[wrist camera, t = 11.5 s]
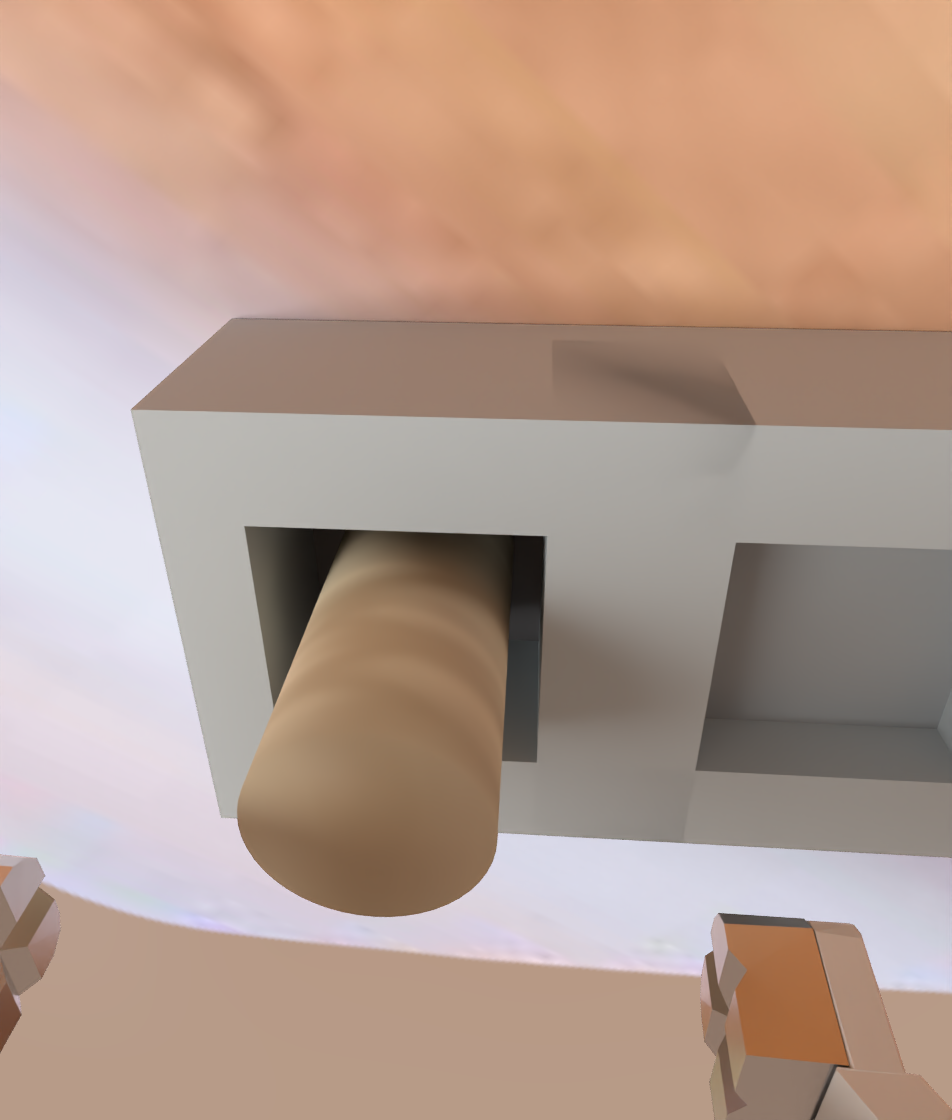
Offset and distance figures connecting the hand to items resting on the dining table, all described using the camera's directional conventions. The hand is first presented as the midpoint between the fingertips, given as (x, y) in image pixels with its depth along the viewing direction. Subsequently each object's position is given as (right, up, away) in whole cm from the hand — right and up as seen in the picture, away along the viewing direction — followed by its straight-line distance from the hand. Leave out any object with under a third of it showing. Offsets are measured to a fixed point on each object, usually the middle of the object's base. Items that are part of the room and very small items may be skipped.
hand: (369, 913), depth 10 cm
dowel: (0, +5, +8) cm, 10 cm away
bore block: (+4, +5, +9) cm, 11 cm away
